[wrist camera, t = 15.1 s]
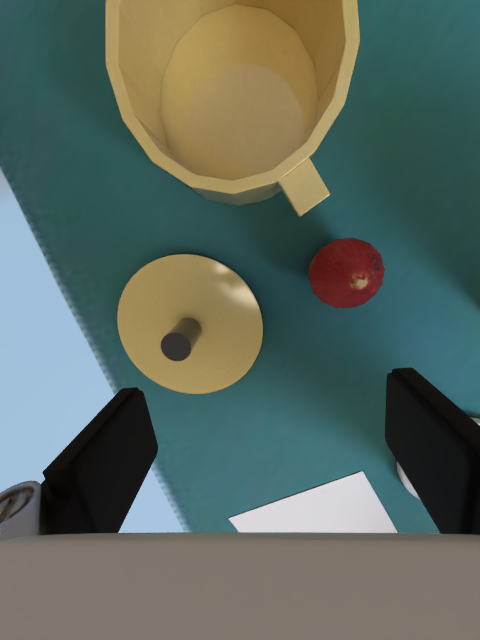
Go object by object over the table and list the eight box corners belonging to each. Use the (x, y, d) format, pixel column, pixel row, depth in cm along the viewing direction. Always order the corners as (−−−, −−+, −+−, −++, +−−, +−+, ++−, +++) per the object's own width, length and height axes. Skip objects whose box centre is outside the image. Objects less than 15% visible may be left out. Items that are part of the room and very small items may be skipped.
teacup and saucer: (280, 544, 38) (283, 579, 34) (331, 529, 36) (340, 564, 32) (307, 580, 40) (312, 617, 36) (357, 567, 38) (368, 604, 34)
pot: (239, -98, 18) (225, -312, 11) (373, 160, 22) (426, 125, 15) (98, 61, 22) (19, -24, 15) (237, 260, 26) (228, 269, 19)
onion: (353, 227, 24) (396, 223, 17) (370, 283, 26) (417, 303, 18) (294, 253, 25) (309, 260, 18) (314, 306, 27) (335, 333, 19)
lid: (203, 220, 25) (187, 215, 20) (290, 344, 28) (298, 369, 23) (94, 308, 29) (55, 325, 23) (182, 409, 32) (166, 444, 26)
